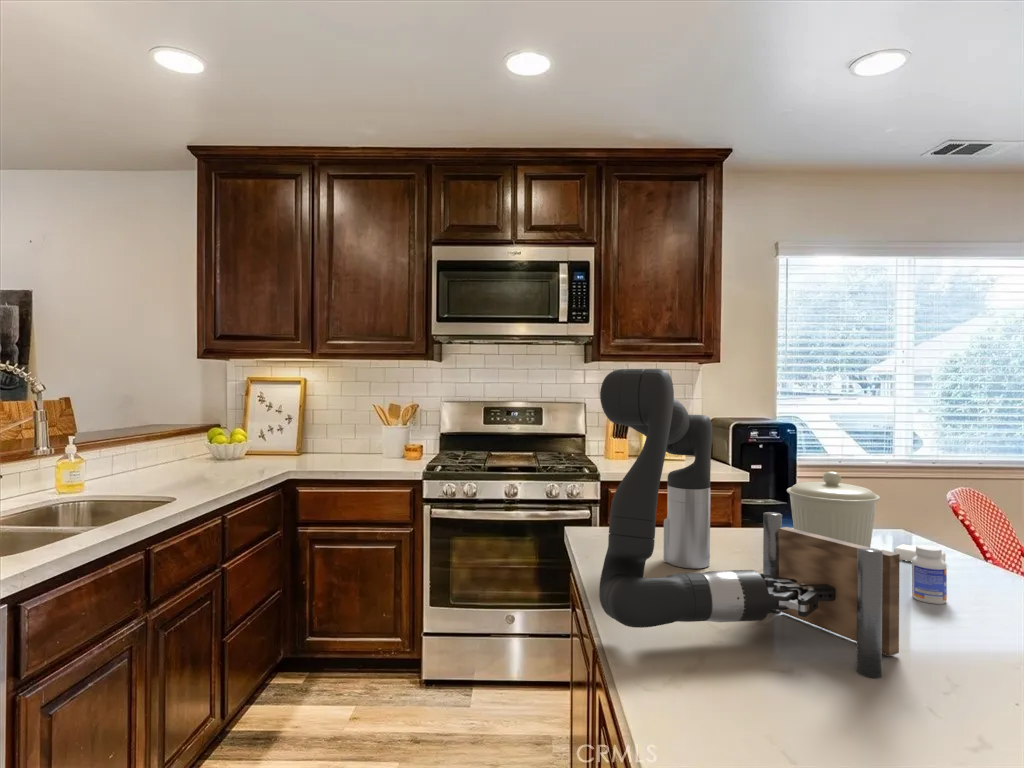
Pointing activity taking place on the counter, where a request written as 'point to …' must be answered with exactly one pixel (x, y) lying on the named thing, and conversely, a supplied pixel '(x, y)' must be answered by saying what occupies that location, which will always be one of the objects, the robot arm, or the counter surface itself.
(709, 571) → the robot arm
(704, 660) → the counter surface
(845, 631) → the gate leaf
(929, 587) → the pill bottle
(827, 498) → the canister
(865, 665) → the gate posts
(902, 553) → the soap
